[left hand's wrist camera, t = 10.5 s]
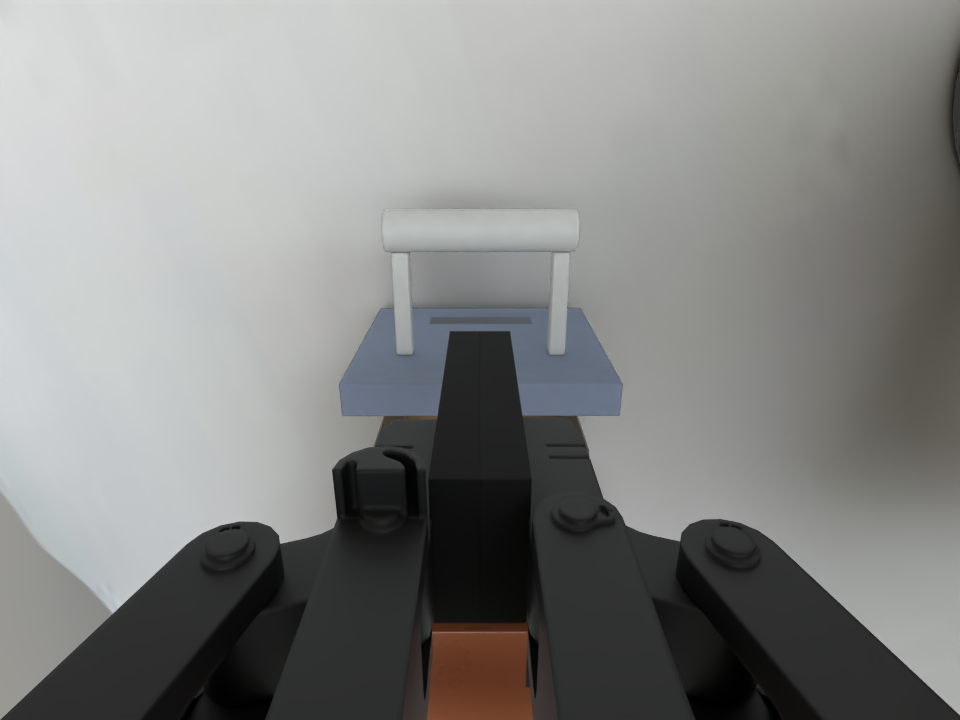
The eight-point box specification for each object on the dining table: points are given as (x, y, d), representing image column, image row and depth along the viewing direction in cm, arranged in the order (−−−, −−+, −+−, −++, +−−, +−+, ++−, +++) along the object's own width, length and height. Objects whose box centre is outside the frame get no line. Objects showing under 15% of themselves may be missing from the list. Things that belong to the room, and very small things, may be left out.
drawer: (372, 191, 25) (322, 221, 17) (588, 191, 25) (639, 221, 17) (401, 626, 34) (377, 778, 26) (560, 626, 34) (584, 778, 26)
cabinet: (383, 474, 32) (340, 632, 22) (577, 474, 32) (622, 632, 22) (403, 738, 39) (377, 943, 29) (559, 738, 39) (585, 943, 29)
